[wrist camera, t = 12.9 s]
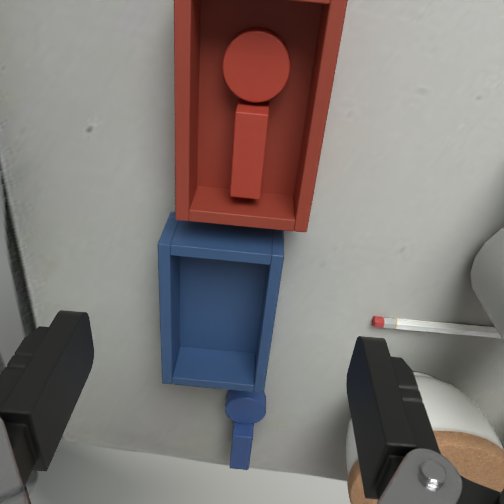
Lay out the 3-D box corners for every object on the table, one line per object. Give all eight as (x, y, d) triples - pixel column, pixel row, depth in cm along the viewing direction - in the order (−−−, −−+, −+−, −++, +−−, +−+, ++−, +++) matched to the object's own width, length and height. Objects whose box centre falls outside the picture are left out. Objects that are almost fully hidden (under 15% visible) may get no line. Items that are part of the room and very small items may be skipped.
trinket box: (487, 421, 38) (543, 545, 30) (361, 450, 40) (381, 570, 33) (459, 332, 32) (517, 453, 25) (316, 373, 35) (327, 493, 27)
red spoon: (275, 182, 26) (275, 201, 24) (219, 176, 26) (214, 195, 24) (293, 30, 22) (295, 38, 20) (226, 23, 22) (221, 30, 20)
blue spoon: (258, 445, 41) (257, 471, 39) (222, 442, 41) (219, 467, 39) (268, 385, 36) (267, 411, 34) (227, 382, 36) (225, 407, 34)
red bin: (186, 190, 27) (175, 220, 24) (188, -35, 21) (173, -32, 18) (303, 202, 27) (306, 232, 24) (340, -19, 21) (350, -14, 18)
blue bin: (172, 346, 34) (161, 383, 31) (170, 212, 28) (157, 243, 25) (264, 354, 35) (263, 393, 32) (283, 223, 28) (284, 256, 25)
